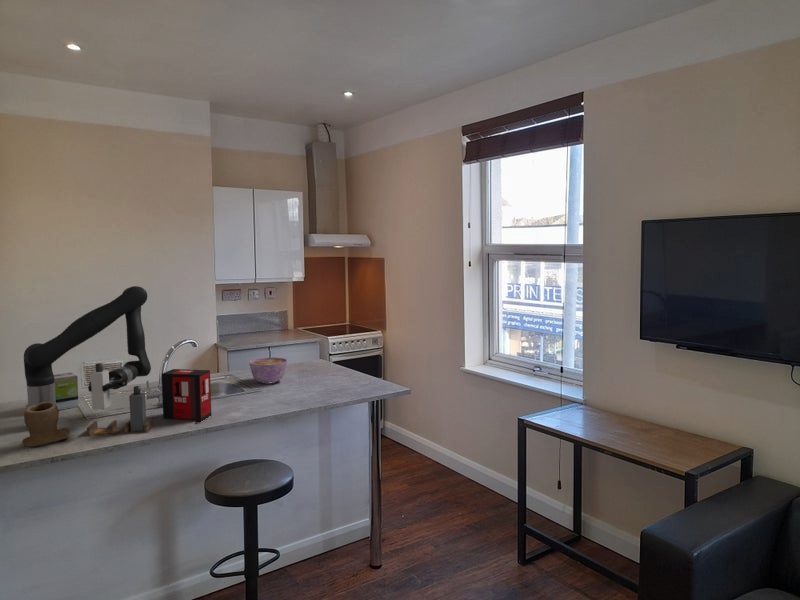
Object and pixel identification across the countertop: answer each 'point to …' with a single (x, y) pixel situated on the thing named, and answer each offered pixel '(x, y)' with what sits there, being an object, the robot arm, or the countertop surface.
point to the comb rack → (116, 429)
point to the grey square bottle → (137, 410)
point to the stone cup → (43, 424)
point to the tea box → (66, 390)
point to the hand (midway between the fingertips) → (96, 388)
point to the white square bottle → (99, 387)
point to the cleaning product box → (186, 394)
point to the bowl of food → (268, 369)
